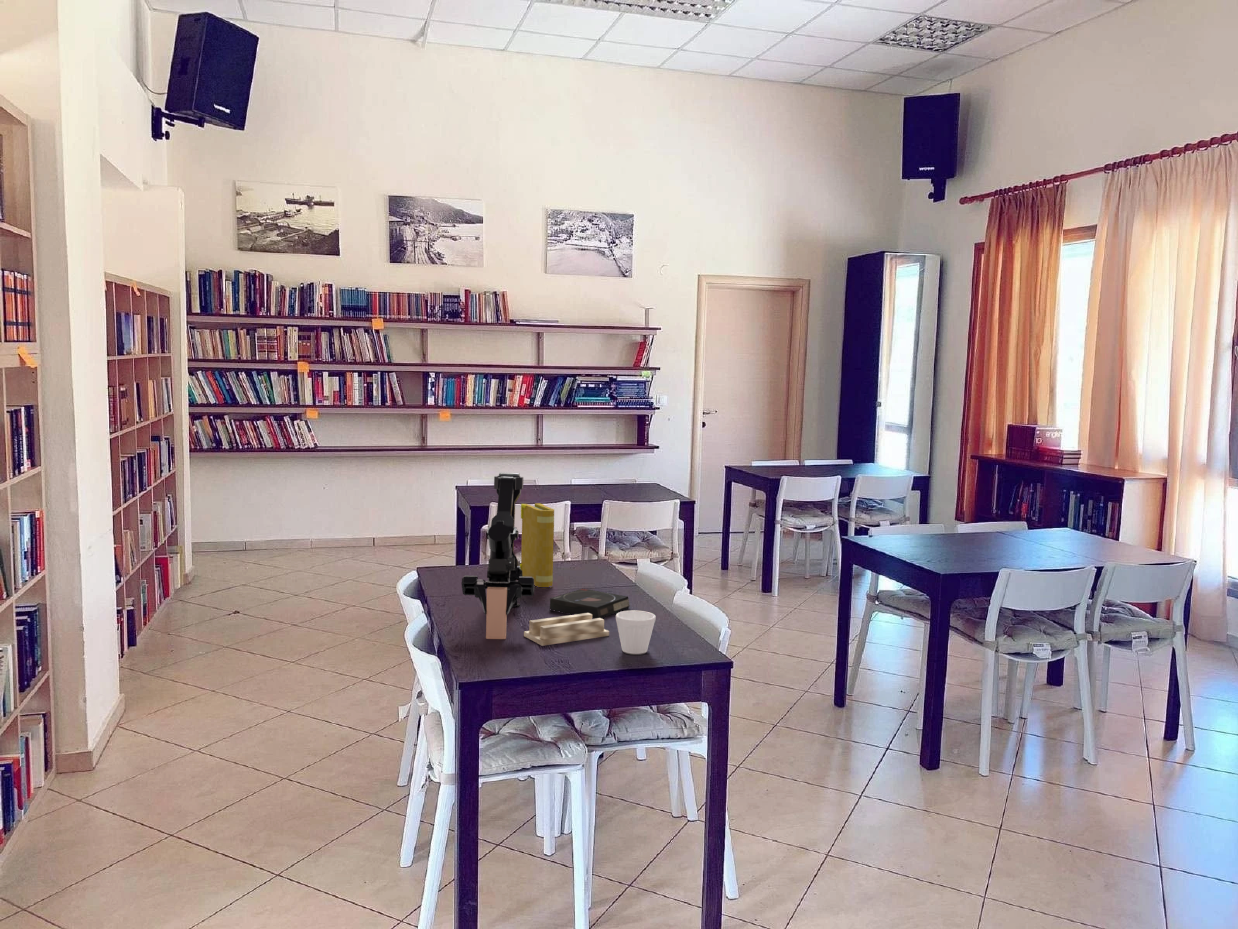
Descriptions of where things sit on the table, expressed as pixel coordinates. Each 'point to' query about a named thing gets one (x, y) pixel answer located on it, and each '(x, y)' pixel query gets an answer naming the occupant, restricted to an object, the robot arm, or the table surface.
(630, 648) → the cup
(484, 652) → the table surface
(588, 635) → the rack
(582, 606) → the portable cd player
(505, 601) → the tile
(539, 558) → the book
